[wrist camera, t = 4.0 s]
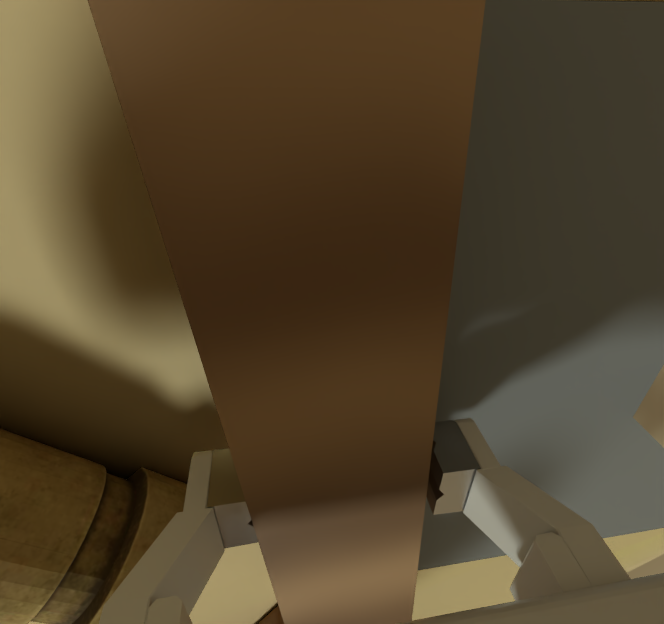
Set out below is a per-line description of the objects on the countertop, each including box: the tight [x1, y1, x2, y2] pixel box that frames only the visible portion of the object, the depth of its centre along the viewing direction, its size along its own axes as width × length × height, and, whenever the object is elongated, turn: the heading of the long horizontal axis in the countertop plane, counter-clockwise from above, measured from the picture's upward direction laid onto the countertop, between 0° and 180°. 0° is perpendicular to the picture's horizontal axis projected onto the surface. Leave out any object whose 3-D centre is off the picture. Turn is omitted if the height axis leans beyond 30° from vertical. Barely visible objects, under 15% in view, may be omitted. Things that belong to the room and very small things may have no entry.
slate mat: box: [418, 0, 664, 570], centre depth 13 cm, size 20×14×1 cm
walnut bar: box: [88, 0, 486, 624], centre depth 11 cm, size 20×4×4 cm, turn 3°
